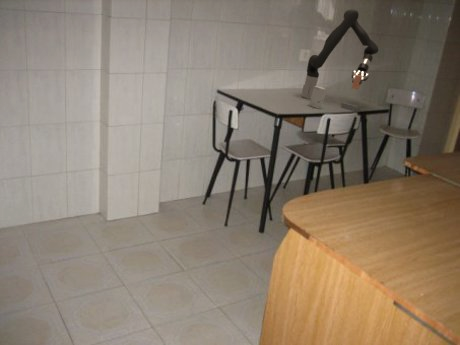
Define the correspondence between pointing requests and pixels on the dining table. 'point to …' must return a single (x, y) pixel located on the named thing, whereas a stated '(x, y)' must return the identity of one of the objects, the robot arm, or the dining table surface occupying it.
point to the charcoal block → (350, 106)
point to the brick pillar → (356, 82)
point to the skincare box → (317, 97)
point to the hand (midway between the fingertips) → (356, 83)
